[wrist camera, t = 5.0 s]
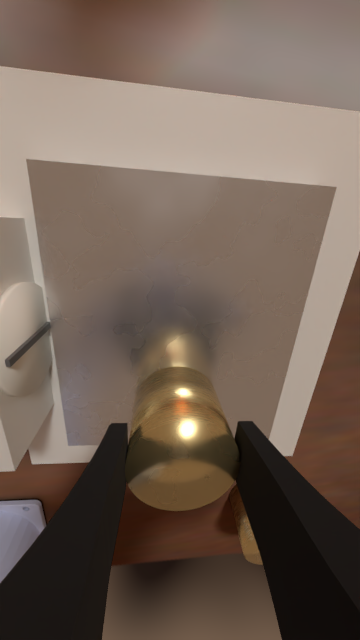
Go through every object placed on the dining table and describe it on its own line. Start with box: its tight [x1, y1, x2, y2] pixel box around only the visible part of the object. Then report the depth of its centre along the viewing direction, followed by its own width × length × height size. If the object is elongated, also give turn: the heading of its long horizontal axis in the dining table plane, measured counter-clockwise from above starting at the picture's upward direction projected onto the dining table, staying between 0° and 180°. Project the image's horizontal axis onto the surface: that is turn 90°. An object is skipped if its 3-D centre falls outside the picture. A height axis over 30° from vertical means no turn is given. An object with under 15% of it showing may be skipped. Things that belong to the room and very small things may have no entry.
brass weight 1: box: [125, 366, 240, 511], centre depth 11 cm, size 4×4×4 cm
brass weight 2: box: [229, 484, 263, 565], centre depth 20 cm, size 4×4×4 cm
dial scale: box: [0, 66, 360, 471], centre depth 12 cm, size 18×20×6 cm
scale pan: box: [26, 159, 337, 446], centre depth 12 cm, size 12×14×1 cm
